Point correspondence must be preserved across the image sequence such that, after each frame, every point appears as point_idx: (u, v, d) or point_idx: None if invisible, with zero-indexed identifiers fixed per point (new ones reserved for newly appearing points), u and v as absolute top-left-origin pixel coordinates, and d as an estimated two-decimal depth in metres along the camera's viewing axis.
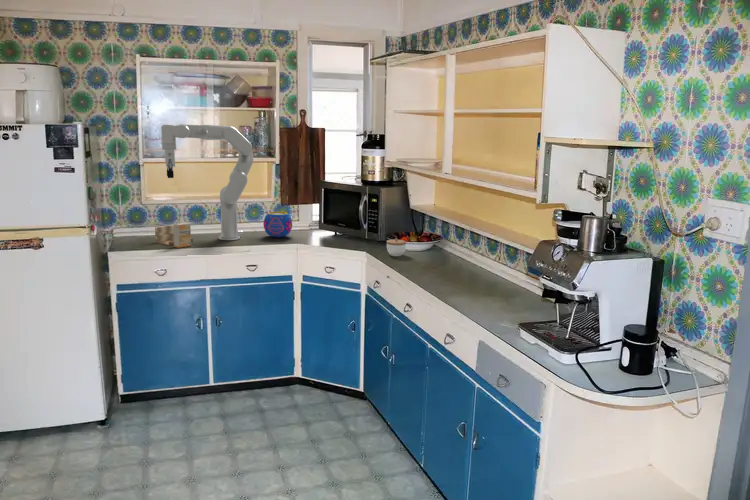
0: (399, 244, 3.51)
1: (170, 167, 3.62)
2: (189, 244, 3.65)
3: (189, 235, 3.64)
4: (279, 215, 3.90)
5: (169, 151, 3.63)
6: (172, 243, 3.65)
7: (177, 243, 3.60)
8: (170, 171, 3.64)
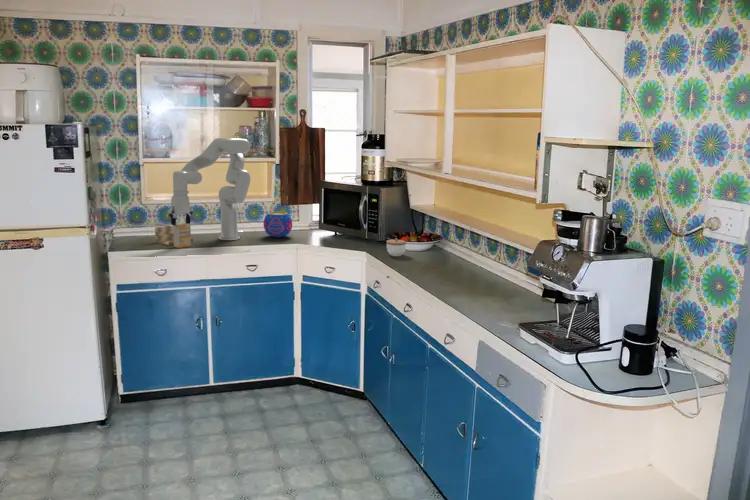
0: (399, 244, 3.51)
1: None
2: (189, 244, 3.65)
3: (189, 235, 3.64)
4: (279, 215, 3.90)
5: None
6: (172, 243, 3.65)
7: (177, 243, 3.60)
8: None
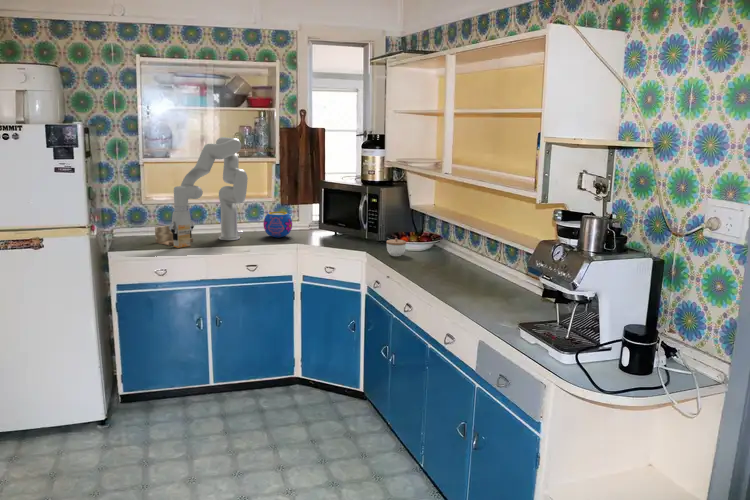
0: (399, 244, 3.51)
1: None
2: (189, 244, 3.64)
3: (189, 235, 3.63)
4: (279, 215, 3.90)
5: None
6: (172, 243, 3.65)
7: (177, 243, 3.59)
8: None
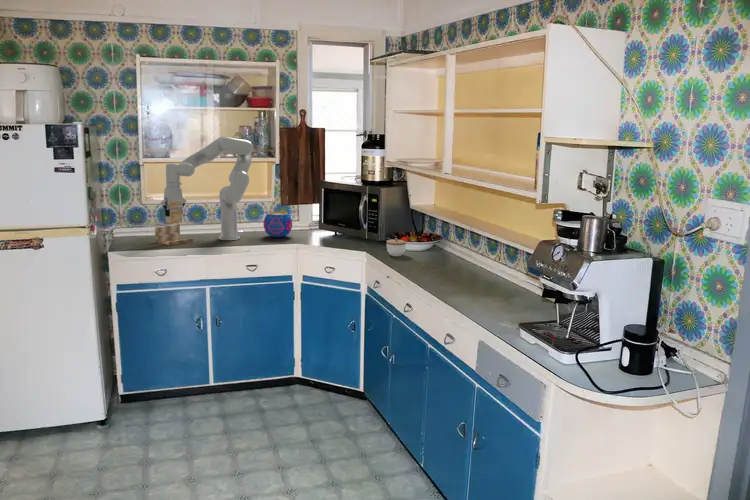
0: (399, 244, 3.51)
1: None
2: (180, 220, 3.72)
3: (180, 212, 3.71)
4: (279, 215, 3.90)
5: None
6: (172, 243, 3.65)
7: (169, 219, 3.67)
8: None
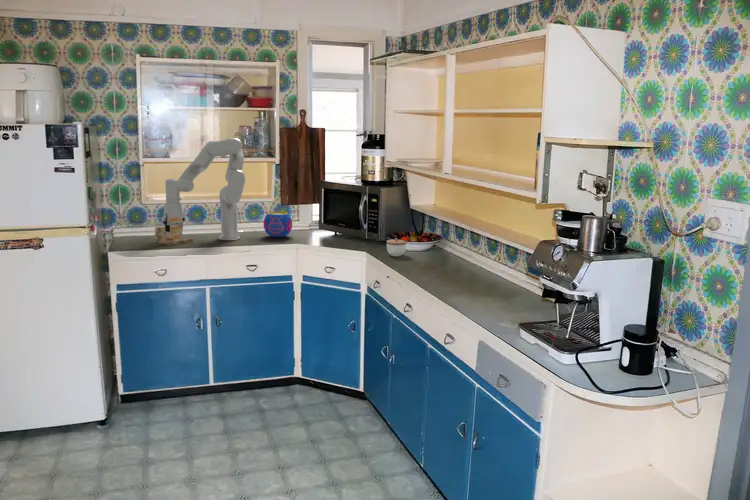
0: (399, 244, 3.51)
1: None
2: (181, 235, 3.74)
3: (181, 227, 3.73)
4: (279, 215, 3.90)
5: None
6: (172, 243, 3.65)
7: (169, 234, 3.69)
8: None
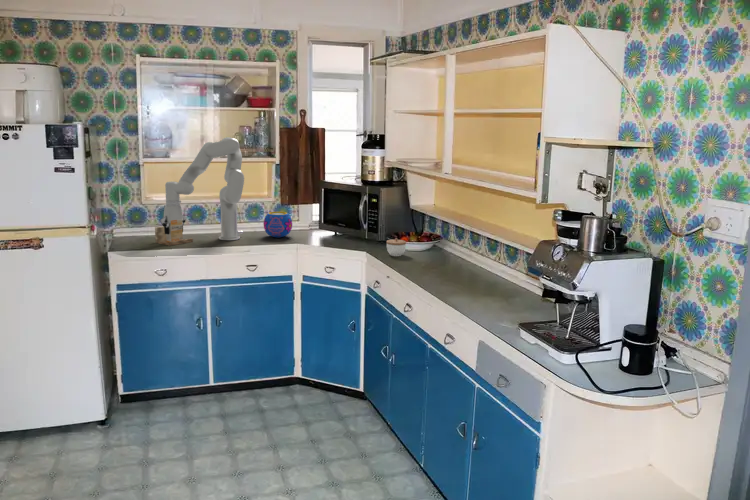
0: (399, 244, 3.51)
1: None
2: (181, 239, 3.75)
3: (181, 230, 3.74)
4: (279, 215, 3.90)
5: None
6: (172, 243, 3.65)
7: (169, 238, 3.70)
8: None
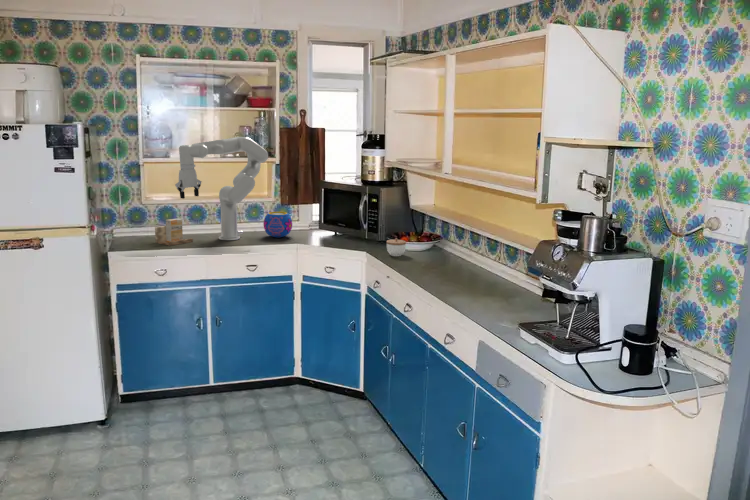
0: (399, 244, 3.51)
1: None
2: (181, 239, 3.75)
3: (181, 230, 3.74)
4: (279, 215, 3.90)
5: None
6: (172, 243, 3.65)
7: (169, 238, 3.70)
8: None
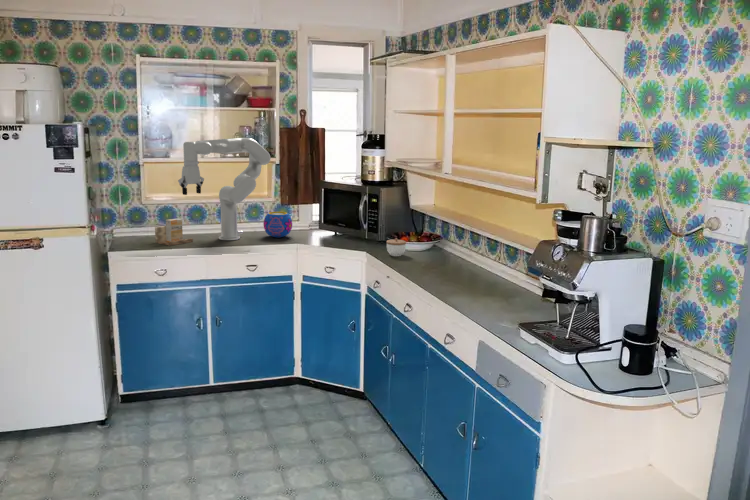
0: (399, 244, 3.51)
1: None
2: (181, 239, 3.75)
3: (181, 230, 3.74)
4: (279, 215, 3.90)
5: None
6: (172, 243, 3.65)
7: (169, 238, 3.70)
8: None
